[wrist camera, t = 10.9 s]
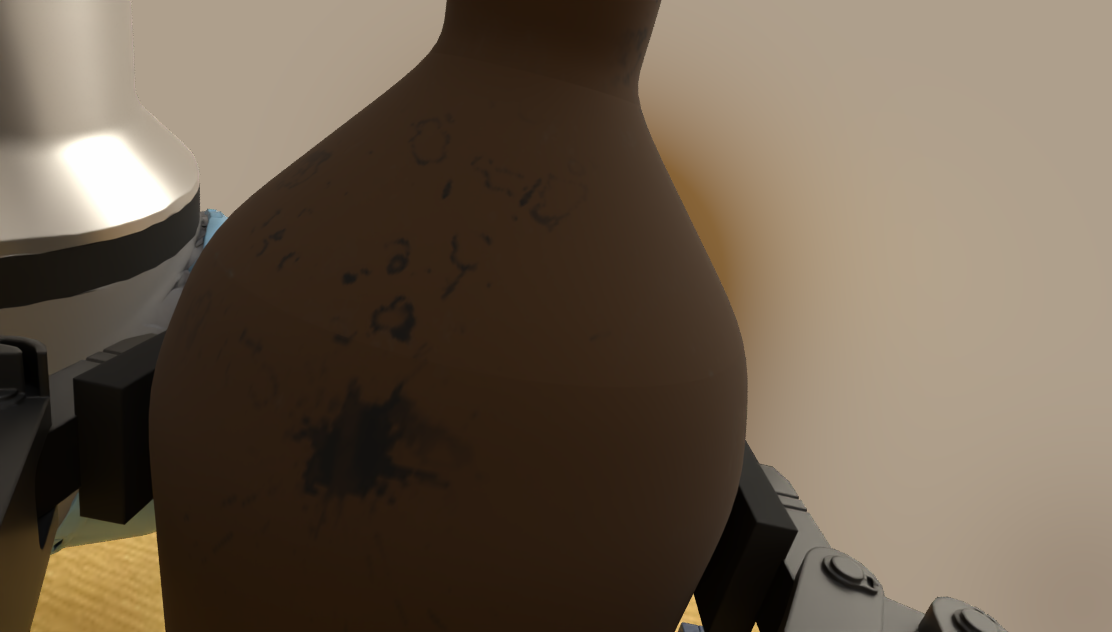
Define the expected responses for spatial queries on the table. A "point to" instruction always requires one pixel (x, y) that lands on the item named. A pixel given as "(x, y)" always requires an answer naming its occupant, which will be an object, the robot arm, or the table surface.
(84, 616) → the table surface
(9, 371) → the robot arm
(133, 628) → the table surface
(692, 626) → the blue-grey hollow square box
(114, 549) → the table surface
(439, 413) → the brown bottle
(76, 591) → the table surface
